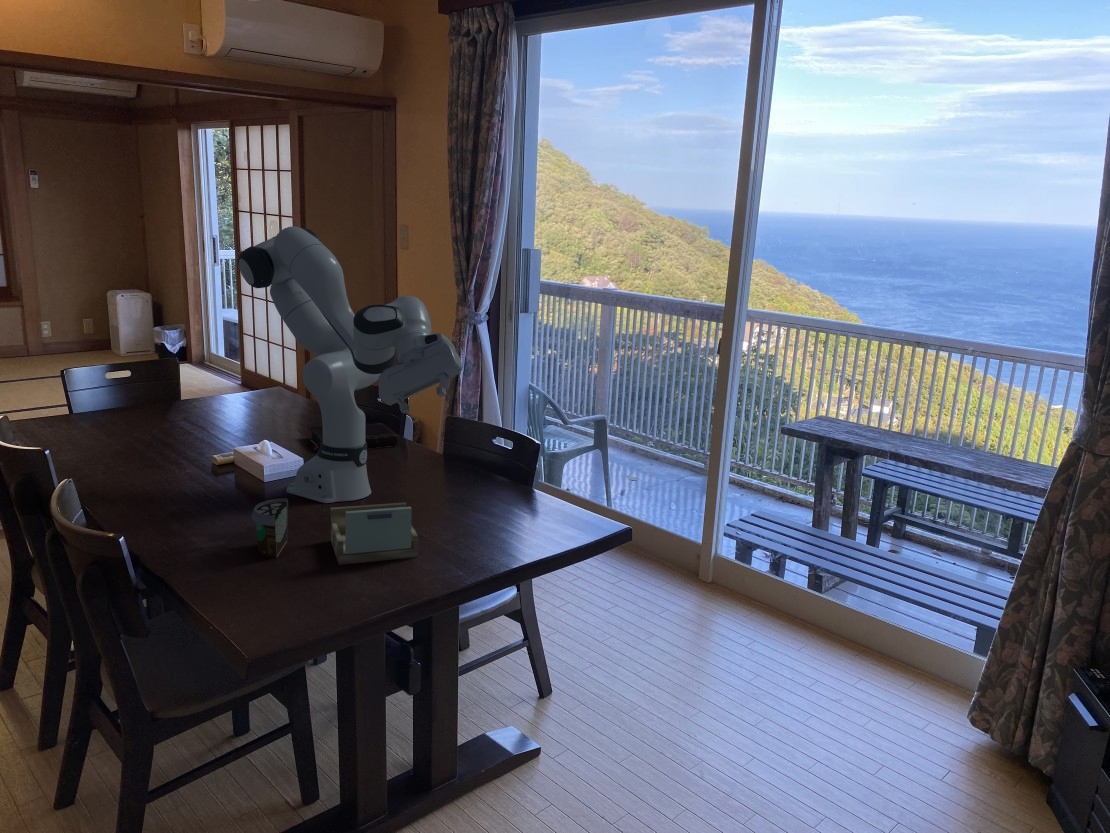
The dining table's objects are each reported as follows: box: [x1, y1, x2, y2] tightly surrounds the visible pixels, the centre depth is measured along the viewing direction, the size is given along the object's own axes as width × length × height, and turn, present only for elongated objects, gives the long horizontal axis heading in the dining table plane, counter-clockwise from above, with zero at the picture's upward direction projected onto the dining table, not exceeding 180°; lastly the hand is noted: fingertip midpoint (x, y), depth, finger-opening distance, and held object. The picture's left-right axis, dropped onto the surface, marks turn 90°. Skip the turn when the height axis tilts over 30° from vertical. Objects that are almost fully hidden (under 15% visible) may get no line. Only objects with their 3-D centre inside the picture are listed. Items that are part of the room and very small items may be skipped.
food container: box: [251, 498, 289, 559], centre depth 176 cm, size 12×6×10 cm, turn 5°
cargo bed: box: [330, 501, 419, 566], centre depth 180 cm, size 14×17×8 cm
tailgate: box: [345, 506, 413, 554], centre depth 173 cm, size 2×14×9 cm, turn 112°
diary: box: [308, 422, 399, 450], centre depth 264 cm, size 19×25×5 cm
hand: (423, 403), depth 176 cm, fingers open, 8 cm apart
